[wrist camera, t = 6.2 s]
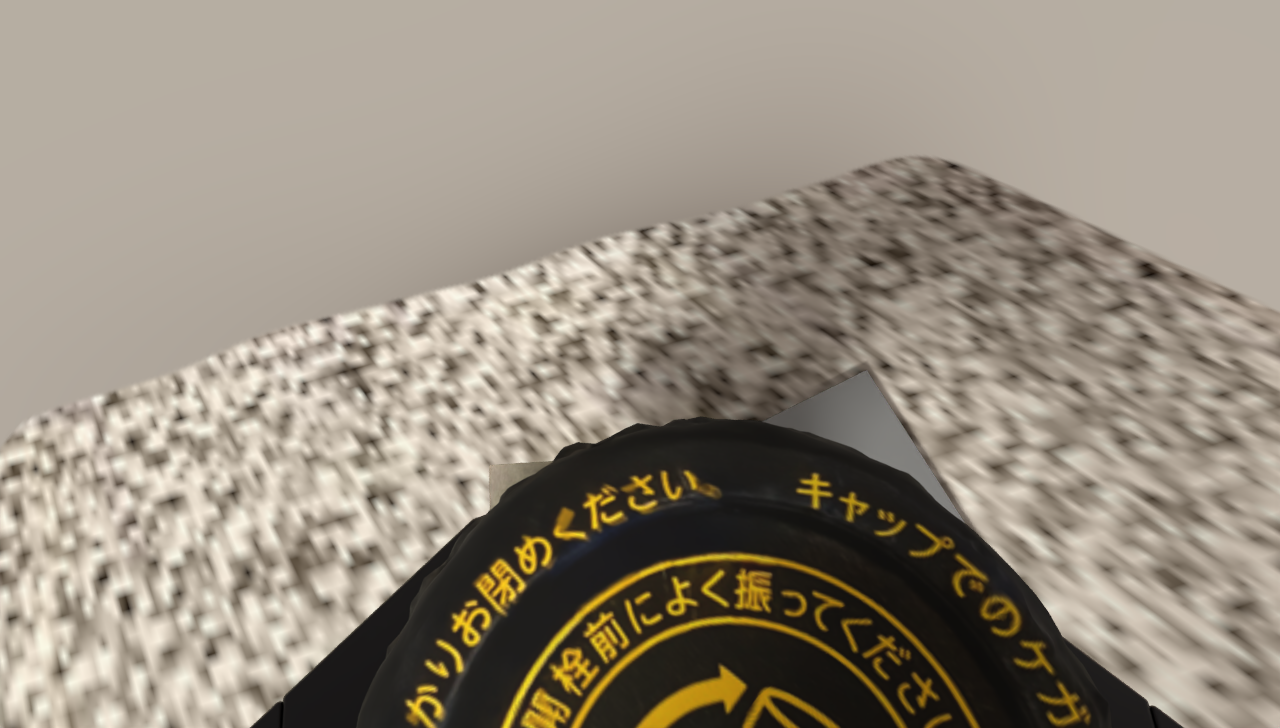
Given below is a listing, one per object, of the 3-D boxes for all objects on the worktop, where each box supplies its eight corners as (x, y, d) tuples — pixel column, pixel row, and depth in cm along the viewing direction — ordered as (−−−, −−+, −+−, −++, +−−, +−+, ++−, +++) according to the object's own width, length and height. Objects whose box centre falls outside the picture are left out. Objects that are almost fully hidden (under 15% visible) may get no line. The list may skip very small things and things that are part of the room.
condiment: (810, 726, 13) (1734, 1894, 2) (486, 748, 13) (-470, 2026, 2) (771, 446, 16) (1095, 227, 4) (492, 466, 16) (54, 302, 4)
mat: (1035, 644, 20) (1045, 647, 19) (760, 805, 18) (762, 812, 18) (862, 372, 23) (866, 369, 22) (618, 493, 22) (617, 492, 21)
